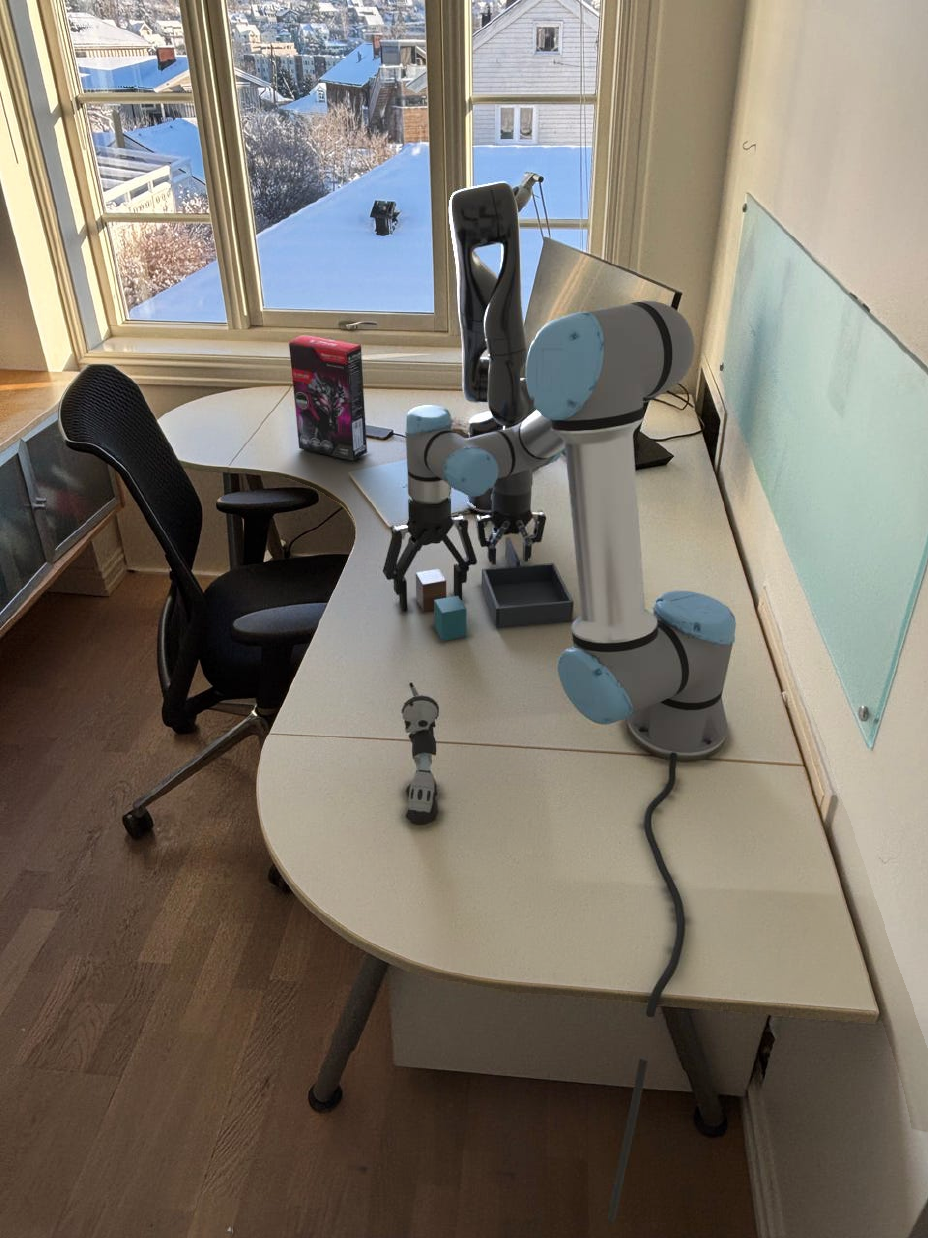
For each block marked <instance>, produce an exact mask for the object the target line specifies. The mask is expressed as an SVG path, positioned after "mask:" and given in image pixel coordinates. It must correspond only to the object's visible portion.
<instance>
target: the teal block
mask: <svg viewBox="0 0 928 1238" xmlns="http://www.w3.org/2000/svg"><path fill="white" fill-rule="evenodd" d="M433 619H434V621H433V622H434V623H433V624H434V625H433V626H434V630H435V631H436V633H437V635H438V636H439V638H440V640H441V641H442V642H445V641H451V640H456V639H461V638H466V637H467V607H466V606H465V604H464V603H463V600H462V601H461V600H460V598H459V596H455V595H454V596H448V597H446V598H442V599H437V600H434V610H433Z"/></svg>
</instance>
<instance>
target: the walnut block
mask: <svg viewBox="0 0 928 1238" xmlns="http://www.w3.org/2000/svg"><path fill="white" fill-rule="evenodd" d="M442 598H447V580H446V578H445V577H444V575H443V573H442V572H441V570H440V568H434V569H430V570H423V571H418V572H415V600H416V602H417V604H418V605H419V607H420V609H421V611H422V612H423V613H426V612H431V611H434V600H437V599H442Z"/></svg>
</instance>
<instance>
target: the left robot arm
mask: <svg viewBox="0 0 928 1238" xmlns="http://www.w3.org/2000/svg"><path fill="white" fill-rule="evenodd" d="M518 208H519V207H518V204H517V199H516V196H515V192H514V190H513V188H512V187H511V185H510V184H509V183H508V182H506V181H498V182H493V183H488V184H482V185H477V186H472V187H468V188H463V189H459V190H457V191H455V192H453V193H452V195H451V197H450V200H449V206H448V214H449V215H448V216H449V225H450V231H451V239H452V245H453V251H454V252H453V253H454V258H455V267H456V283H457V286H456V287H457V309H458V310H457V311H458V321H459V328H460V338H461V356H462V357H461V386H462V393H463V396H464V398H465V400H467V401H468V402H470V403H475V404H487V405H488V406H487V407H488V410H486V411H483V412H479V413H477V414H475V415H473V416H472V417H471V418H470V419H469V421H468V422H469V438H471V437H475V436H479V435H483V434H487V433H491V432H495V431H499V430H503V429H507V428H510V427H513V426H516V425H517V424H519V423H520V422H522V421H523V420H524V419H526V418H527V417H528V416H529V415H530V414H532V413H533V412H534V411H536V408H535V407H534V400H532V399H531V398H530V396H529V393H528V389H527V384H526V377H521V376H522V371H523V369H525V368H524V367H526V361H527V356H528V352H529V349H528V343H527V336H526V329H525V323H524V311H523V297H522V295H523V294H522V258H521V257H522V255H521V232H520V231H521V230H520V216H519V209H518ZM498 244H500V246H501V262H500V268H499V271H498V275H497V274H496V273H495V272H494V271H493V270H492V269H491V268H489V267H488V265H486V264H485V263H484V262H483V261H482V260H481V259H480V258H479V256H478V254H477V252H476V251H475V249H479V248H484V247H488V246H489V247H490V246H493V245H498ZM486 351H487V356H488V357H487V356H483V355H484V353H485V352H486ZM532 488H533V469H530V470H526V471H522V472H518V473H515V474H511V475H508V476H505V477H502V478H498V479H497V480H496V482H495V484H494V485H493V487H492V488H491V489H489V490H487V491H486V493H485V494H483V495H480V496H474V497H473V496H468V495H467V500H468V501H469V502H470V503H472V504H473V505H474V506H476V508H473V507H471V506H470V505H469V504H468V502H467V507H468V509H470V510H471V511H473V512H475V513H479V514H477V515H475V517H474V519H475V526H476V532H477V540H478V542H479V545H480V547H481V548H485V547H486V548H487V554H486V555H487V559H488V562H489V563H491V565H497V545H498V543H499V541H501V539H502V538H503V537H504V536H505V535H506V536H507V535H511V534H512V535H513V534H514V535H519V534H521V535H522V538H523V541H522V553H521V554H522V555H521V557H522V560H523V562H524V563H528V562H529V560H531V558H532V550H533V545H534V544H536V543H538V544H539V543H541V542H542V539H543V535H544V531H545V527H546V521H547V517H546V515H545V513H544V511H543V509H539V510H538V511H532V510H531V509H532V490H533V489H532ZM481 514H484V515H481ZM531 520H533V522H534V527H533V533H532V534H529V532H528V531H527V528H526V527H527V526H528V525H529V523H530V522H531ZM489 522H491V524H492V525H493V527H492V528H491V531H490V534H489V536H488V537H486V528H487V527H488V526H489V525H488V524H489Z"/></svg>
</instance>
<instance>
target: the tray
mask: <svg viewBox="0 0 928 1238" xmlns="http://www.w3.org/2000/svg"><path fill="white" fill-rule="evenodd" d="M504 548H505V549H504V557H505V559H506V562H507V565H508V566H500V567H487V568H481V590H482V592H483V595H484V597H485V601H486V604H487V607H488V610H489V612H490V615H491V617H492V620H493V623H494V627H495V629H496V628H497V629H498V628H509V627H510V628H511V627H519V626H530V625H539V624H540V625H543V624H552V623H553V624H555V623H564V622H573V617H574V616H573V615H574V603H575V602H574V600H573V598H572V596H571V594H570V592H569V590H568V588H567V586H566V584H565V582H564V580H563V578H562V576H561V573H560V572H559V570H558V568H557V566H556V564H555V562H550V563H549V562H548V563H538V564H537V563H536V564H525V565H524V564H523V565H521V560H520V557H519V555H518V553H517V550H516V548H515V546H514V543H513V542H512V539H511V537H510V536H505V547H504Z"/></svg>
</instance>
